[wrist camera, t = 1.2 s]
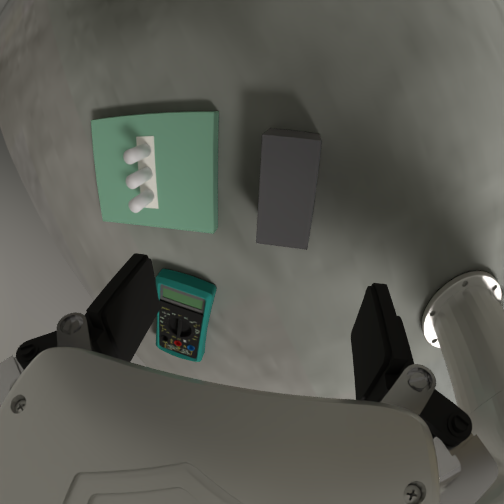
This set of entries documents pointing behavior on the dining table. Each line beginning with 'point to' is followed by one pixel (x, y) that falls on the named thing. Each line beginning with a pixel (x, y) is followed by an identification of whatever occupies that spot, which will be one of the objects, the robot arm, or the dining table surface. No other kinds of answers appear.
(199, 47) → the dining table surface
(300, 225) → the block
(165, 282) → the digital multimeter
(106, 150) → the board
